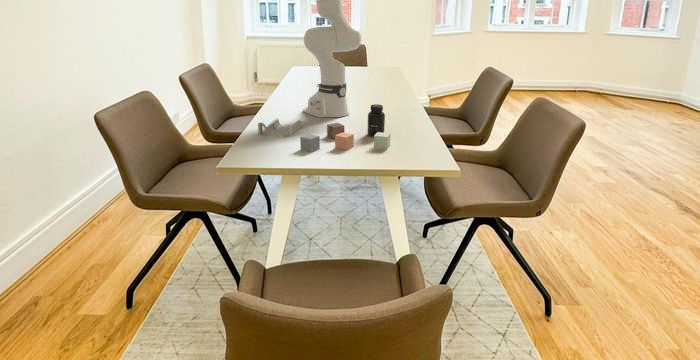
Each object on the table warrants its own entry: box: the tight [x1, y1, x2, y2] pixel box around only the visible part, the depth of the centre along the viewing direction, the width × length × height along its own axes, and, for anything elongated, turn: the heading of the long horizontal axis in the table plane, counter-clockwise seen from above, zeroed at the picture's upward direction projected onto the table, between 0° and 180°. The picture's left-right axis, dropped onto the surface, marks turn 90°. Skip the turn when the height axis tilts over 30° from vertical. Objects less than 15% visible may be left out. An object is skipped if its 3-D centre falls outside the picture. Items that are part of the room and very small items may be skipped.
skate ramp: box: [257, 118, 302, 138], centre depth 219 cm, size 15×13×5 cm
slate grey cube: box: [299, 133, 321, 153], centre depth 195 cm, size 5×5×5 cm
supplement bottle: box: [366, 103, 386, 138], centre depth 212 cm, size 7×7×12 cm
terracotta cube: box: [334, 132, 355, 151], centre depth 197 cm, size 5×5×5 cm
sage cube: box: [373, 132, 391, 151], centre depth 198 cm, size 5×5×5 cm
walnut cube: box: [326, 122, 345, 140], centre depth 210 cm, size 5×5×5 cm
